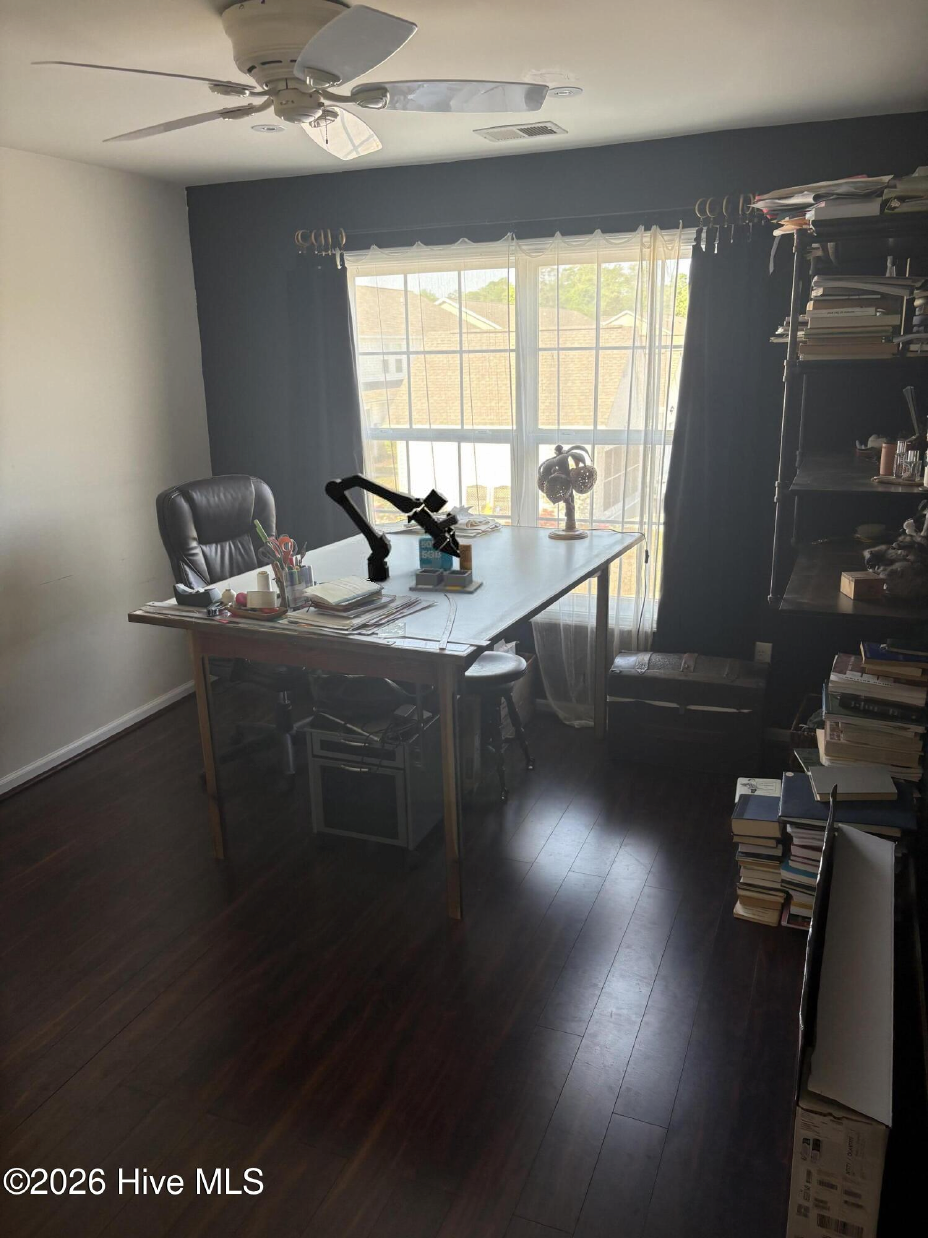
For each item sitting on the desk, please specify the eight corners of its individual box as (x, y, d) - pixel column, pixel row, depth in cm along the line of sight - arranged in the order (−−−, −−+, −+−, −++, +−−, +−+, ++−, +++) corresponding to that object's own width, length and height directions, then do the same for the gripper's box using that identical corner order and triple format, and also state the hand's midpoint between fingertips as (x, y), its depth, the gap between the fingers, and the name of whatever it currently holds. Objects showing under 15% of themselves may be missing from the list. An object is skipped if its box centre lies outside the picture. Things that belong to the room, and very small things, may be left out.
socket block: (409, 590, 297) (408, 575, 295) (421, 581, 308) (420, 567, 306) (472, 593, 290) (472, 578, 289) (482, 584, 301) (482, 570, 300)
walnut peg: (458, 579, 309) (457, 545, 305) (461, 576, 313) (461, 543, 309) (470, 580, 307) (469, 546, 304) (474, 577, 311) (473, 543, 308)
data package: (420, 571, 323) (418, 538, 319) (419, 568, 327) (418, 535, 324) (453, 569, 324) (452, 536, 320) (452, 566, 328) (451, 534, 325)
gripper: (440, 510, 295) (474, 543, 297) (447, 501, 312) (479, 532, 314) (418, 534, 298) (452, 566, 300) (426, 524, 316) (458, 554, 318)
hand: (461, 554), depth 308 cm, fingers open, 9 cm apart
